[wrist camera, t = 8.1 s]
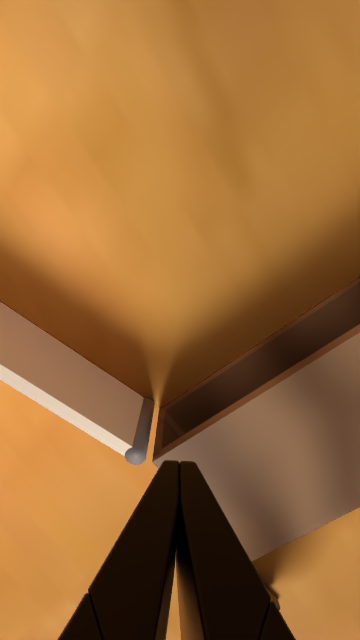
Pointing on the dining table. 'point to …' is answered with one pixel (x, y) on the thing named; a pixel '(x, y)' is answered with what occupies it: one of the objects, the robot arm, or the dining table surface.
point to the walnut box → (278, 428)
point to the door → (73, 387)
